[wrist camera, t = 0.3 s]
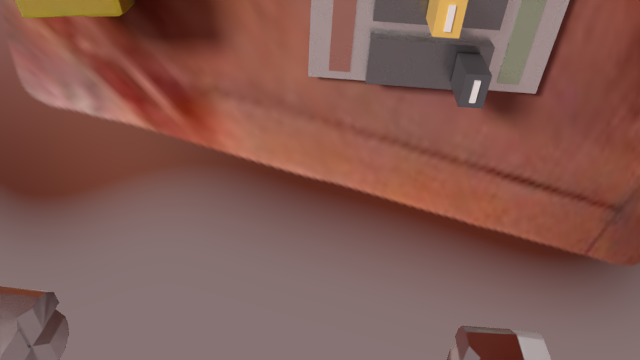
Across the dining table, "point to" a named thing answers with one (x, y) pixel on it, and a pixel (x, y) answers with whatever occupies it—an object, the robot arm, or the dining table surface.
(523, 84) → the panel
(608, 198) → the dining table surface
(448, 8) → the breaker
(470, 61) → the breaker
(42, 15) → the candle
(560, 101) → the dining table surface
